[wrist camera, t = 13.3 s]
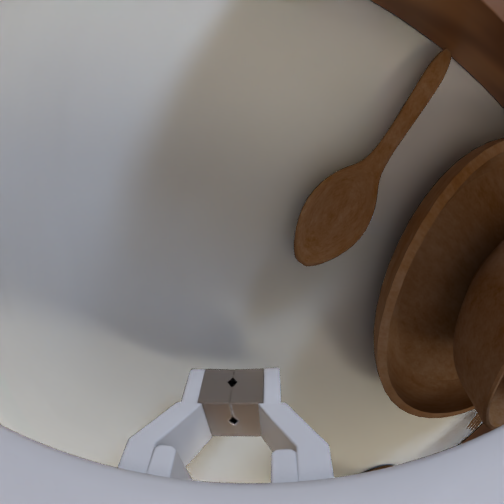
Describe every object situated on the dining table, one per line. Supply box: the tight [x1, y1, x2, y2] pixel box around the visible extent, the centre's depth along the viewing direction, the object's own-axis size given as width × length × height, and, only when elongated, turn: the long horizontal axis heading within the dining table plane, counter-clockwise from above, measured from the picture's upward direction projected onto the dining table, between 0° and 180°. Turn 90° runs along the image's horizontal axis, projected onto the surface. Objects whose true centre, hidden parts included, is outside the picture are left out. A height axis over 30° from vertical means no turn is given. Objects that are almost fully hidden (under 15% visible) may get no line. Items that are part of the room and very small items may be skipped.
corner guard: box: [371, 0, 504, 444], centre depth 9 cm, size 24×24×4 cm
